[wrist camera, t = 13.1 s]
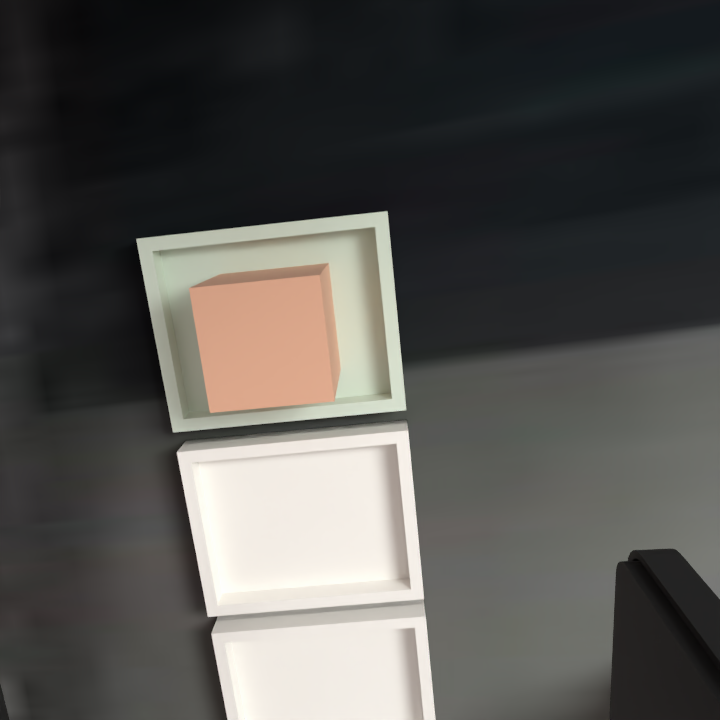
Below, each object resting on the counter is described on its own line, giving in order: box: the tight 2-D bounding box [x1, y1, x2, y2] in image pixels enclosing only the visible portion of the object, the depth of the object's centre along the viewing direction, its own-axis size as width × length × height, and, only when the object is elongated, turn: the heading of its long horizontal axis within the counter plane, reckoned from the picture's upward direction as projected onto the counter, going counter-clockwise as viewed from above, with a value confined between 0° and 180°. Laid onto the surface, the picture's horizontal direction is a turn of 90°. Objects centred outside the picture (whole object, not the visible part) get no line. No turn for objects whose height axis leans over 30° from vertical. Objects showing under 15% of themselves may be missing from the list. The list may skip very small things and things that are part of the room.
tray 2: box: [177, 420, 424, 617], centre depth 31 cm, size 9×11×2 cm
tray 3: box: [211, 599, 435, 720], centre depth 33 cm, size 9×11×2 cm
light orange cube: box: [189, 263, 341, 413], centre depth 26 cm, size 5×5×5 cm
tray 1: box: [136, 211, 406, 432], centre depth 29 cm, size 9×11×2 cm
